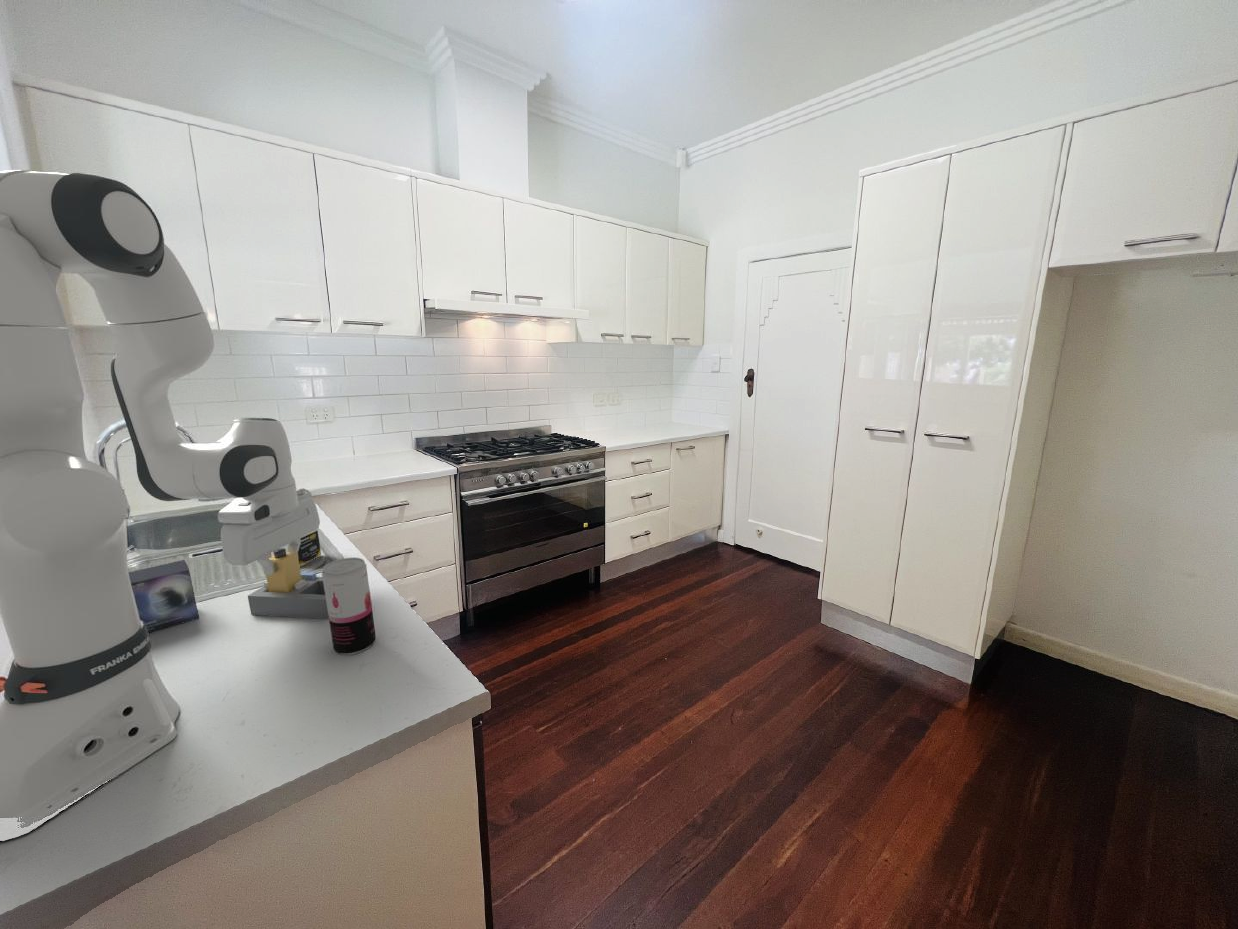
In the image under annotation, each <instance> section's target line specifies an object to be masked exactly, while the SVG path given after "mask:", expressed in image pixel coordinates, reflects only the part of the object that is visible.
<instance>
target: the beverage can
mask: <svg viewBox="0 0 1238 929" xmlns="http://www.w3.org/2000/svg"><path fill="white" fill-rule="evenodd" d="M321 577H323V584H324V590H325V596H326V603H327V609H328V616H329V619H328V620H329V621H328V622H329V627H330V634H331V640H332V641H331V642H332V646H333V647H332V648H333V650H334V652H336V653H338V654H340V655H343V656H344V655H347V656H348V655H355V654H358V653H361V652H364V651H366V650H367V649H369V648H370V647H371V646H372V645H373V644H374V643H375V641H376V639H377V637H376V636H377V635H376V629H375V628H376V627H375V622H374V621H375V620H374V614H373V607H372V606H373V604H372V599H371V598H372V597H371V591H370V584H369V575H368V567H367V564H366V562H365V560H364V559H363V558H361V557H345V558H340V559H336V560H333V561H330V562H328V563H327V564H325V565H324V566H323V567H322V573H321Z"/></svg>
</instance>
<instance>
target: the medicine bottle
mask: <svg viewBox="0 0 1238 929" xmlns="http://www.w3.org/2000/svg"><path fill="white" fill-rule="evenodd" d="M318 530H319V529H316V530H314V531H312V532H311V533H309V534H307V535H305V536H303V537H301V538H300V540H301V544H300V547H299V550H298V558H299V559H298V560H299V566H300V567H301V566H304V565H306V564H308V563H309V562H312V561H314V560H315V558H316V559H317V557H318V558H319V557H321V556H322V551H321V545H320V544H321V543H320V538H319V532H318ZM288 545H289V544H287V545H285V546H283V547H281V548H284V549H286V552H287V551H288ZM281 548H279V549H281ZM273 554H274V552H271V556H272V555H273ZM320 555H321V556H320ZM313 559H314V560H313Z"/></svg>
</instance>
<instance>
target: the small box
mask: <svg viewBox="0 0 1238 929" xmlns="http://www.w3.org/2000/svg"><path fill="white" fill-rule="evenodd" d="M128 572H129V577H130V582H131V586H132V590H133V593H134V597H135V601H136V605H137V609H138V614H139V618H140V620H142V621H144V622H145V624H146V627H147V630H148V634H149V632H150V633H152V632H155V631H156V630H157V631H159V630H160V631H161V630H163V629H162V628H164V629H166V627H167V628H170V627H173V626H177V625H180V623H181V624H184V623H187V622H186V621H188V622H190V621H189V620H191V621H193V620H192V619H195V620H197V619H199V618H200V617H199V611H198V607H197V601H196V596H195V592H194V586H193V583H192V581H193V580H192V577H191V571H190V569H189V566H188V564H187V562H186V560H185V559H182V560H178V561H176V560H175V561H173V562H168V563H163V564H160V565H156V566H151V567H147V568H146V567H145V568H142V569H138V570H133V571H128ZM183 622H184V623H183ZM169 626H170V627H169Z"/></svg>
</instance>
